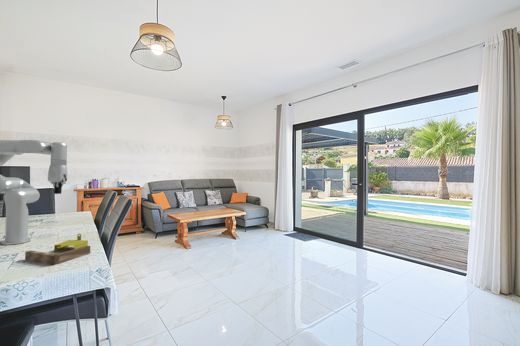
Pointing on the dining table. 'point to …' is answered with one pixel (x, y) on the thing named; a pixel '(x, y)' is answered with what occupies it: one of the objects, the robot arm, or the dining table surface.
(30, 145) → the robot arm
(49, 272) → the dining table surface
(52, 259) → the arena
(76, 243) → the bracket
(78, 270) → the dining table surface
